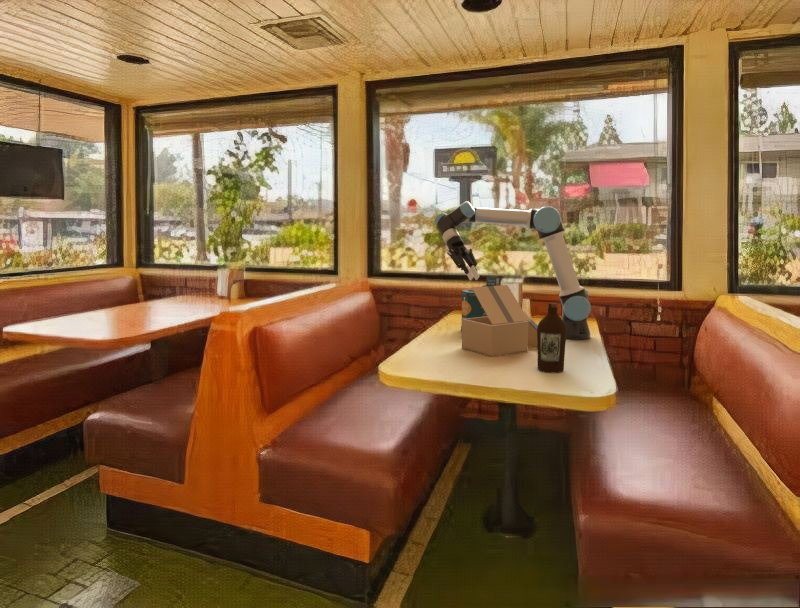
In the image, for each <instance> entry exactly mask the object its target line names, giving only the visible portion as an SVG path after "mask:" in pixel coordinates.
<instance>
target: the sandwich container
mask: <svg viewBox="0 0 800 608" xmlns="http://www.w3.org/2000/svg"><path fill="white" fill-rule="evenodd" d="M523 312H524V313H525V315H526V317H527V318H528V346H532V347H531V348H537V327H538V324H537V323H536V321H534V320H533V319H532V317H531V316H530V315H529V314H528V313H527V312H526V311H524V310H523Z"/></svg>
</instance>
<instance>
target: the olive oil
mask: <svg viewBox="0 0 800 608" xmlns="http://www.w3.org/2000/svg"><path fill="white" fill-rule="evenodd" d="M547 305H548V306H547V313H546V315H544V317H542V318H541V320H539V322H538V324H537V325H538V327H537V347H536V348H537V350H536V351H537V370H538V371H539V372H543V371H544V372H543V373H548V372H558V373H563V371H564V369H565V355H566V344H567V338H566V335H567V327H566V324H565V322H564V321H563V320H562V317H561V316H559V314H558V303H556V302H549V303H548V304H547Z"/></svg>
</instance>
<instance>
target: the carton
mask: <svg viewBox="0 0 800 608" xmlns="http://www.w3.org/2000/svg"><path fill="white" fill-rule="evenodd" d="M461 326H462V331H461V349H463V350H466V351H470V352H472V353H473V352H474V353H476V352H477V354H480V353H481V355H483V354H485V355H484V356H486V355H488V356H487V357H490V356H495V357H499V355H501V356H506V355H505V354H508V355H514V354H520V352H521V353H526V352H525V351H527V352H528V349H529V347H528V321H523V322H514V323H506V324H497V325H492V323H491V321H490V320H489V318H488V316H487V317H477V318H467V319H462V318H461ZM513 353H514V354H513Z"/></svg>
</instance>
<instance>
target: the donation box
mask: <svg viewBox="0 0 800 608" xmlns="http://www.w3.org/2000/svg"><path fill="white" fill-rule="evenodd" d="M501 280H502V279H501V278H500V277H497V276H491V275H486V284H484V285H481V287H485V286H500V285H502V284H501ZM460 292H461V295H460V296H461V320H462V319H467V318H477V317H487V314H486V312H485V311H484V309H483V307H482V305H481V304H480V302H479V300H478V298H477V296H476V295H475V293H474V291H473V289H472V288H471V289H464V290H463V289H462V290H461V291H460ZM460 331H461V332H462V325H461V326H460Z"/></svg>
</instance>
